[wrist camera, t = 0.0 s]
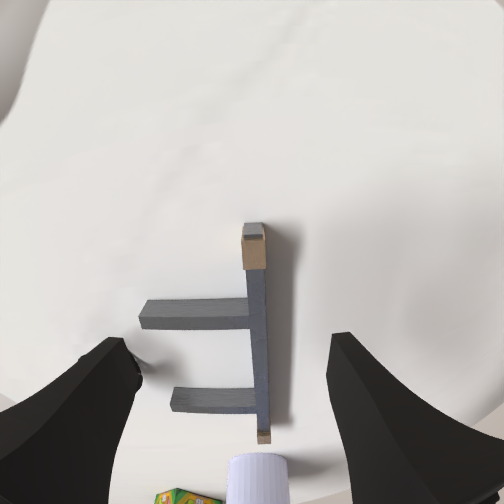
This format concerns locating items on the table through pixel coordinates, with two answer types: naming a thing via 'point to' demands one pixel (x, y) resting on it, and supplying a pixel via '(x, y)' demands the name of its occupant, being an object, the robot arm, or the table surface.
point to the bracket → (223, 318)
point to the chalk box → (183, 498)
